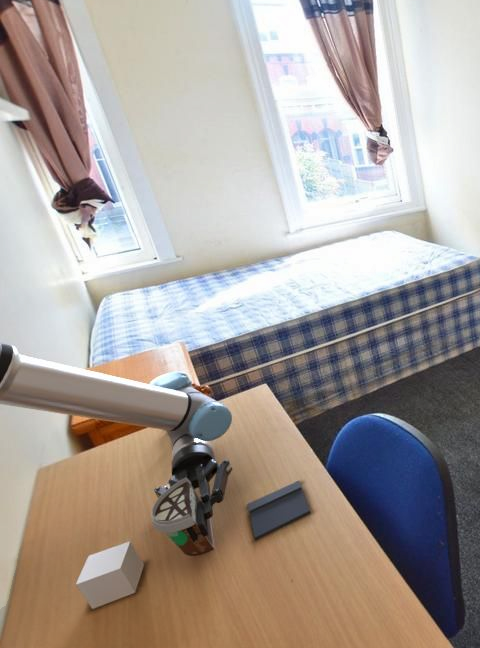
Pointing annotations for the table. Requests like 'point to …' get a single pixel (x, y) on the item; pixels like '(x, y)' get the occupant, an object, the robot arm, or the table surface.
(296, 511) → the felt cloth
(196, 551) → the food container
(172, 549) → the table surface
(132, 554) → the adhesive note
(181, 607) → the table surface
